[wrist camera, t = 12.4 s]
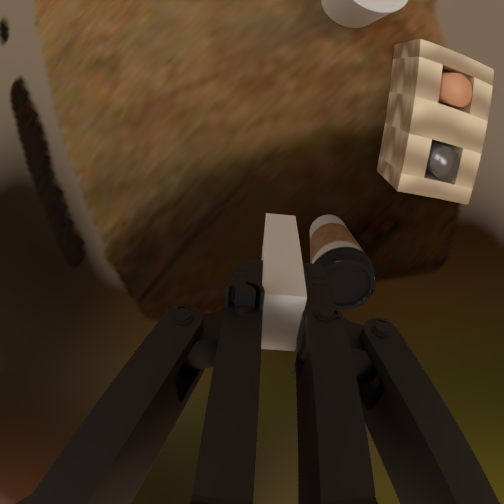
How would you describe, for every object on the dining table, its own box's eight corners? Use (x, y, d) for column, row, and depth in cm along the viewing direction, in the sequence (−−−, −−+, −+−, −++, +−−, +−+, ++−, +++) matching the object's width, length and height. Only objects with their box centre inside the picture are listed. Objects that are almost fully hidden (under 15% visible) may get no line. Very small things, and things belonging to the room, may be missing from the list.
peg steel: (408, 131, 40) (436, 143, 32) (432, 137, 40) (462, 151, 32) (403, 158, 42) (428, 176, 34) (427, 163, 42) (455, 182, 34)
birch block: (394, 44, 34) (420, 38, 26) (460, 67, 34) (494, 69, 26) (376, 170, 44) (397, 191, 36) (440, 183, 44) (468, 204, 36)
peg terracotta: (416, 68, 35) (447, 68, 27) (441, 76, 35) (474, 79, 27) (413, 95, 37) (443, 101, 29) (438, 103, 37) (469, 110, 29)
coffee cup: (344, 257, 52) (364, 317, 39) (296, 249, 52) (303, 309, 39) (359, 213, 48) (388, 264, 35) (308, 202, 47) (322, 252, 35)
